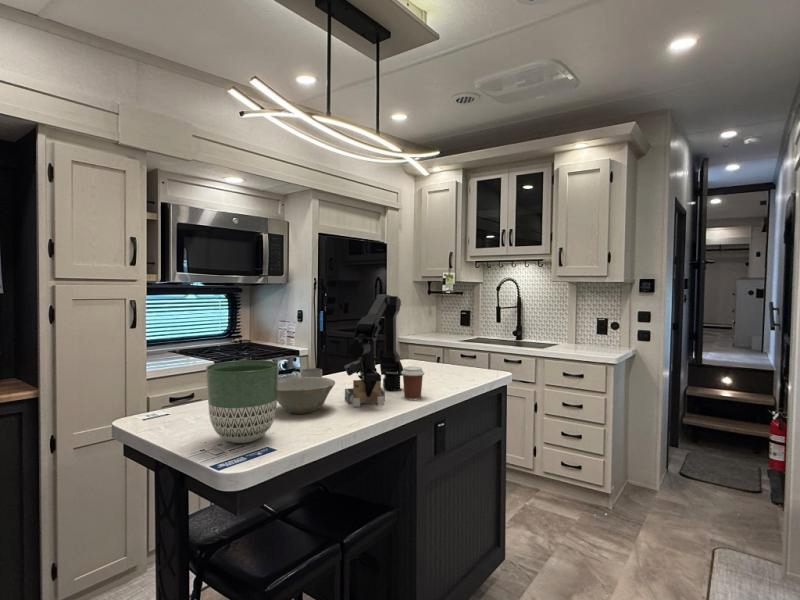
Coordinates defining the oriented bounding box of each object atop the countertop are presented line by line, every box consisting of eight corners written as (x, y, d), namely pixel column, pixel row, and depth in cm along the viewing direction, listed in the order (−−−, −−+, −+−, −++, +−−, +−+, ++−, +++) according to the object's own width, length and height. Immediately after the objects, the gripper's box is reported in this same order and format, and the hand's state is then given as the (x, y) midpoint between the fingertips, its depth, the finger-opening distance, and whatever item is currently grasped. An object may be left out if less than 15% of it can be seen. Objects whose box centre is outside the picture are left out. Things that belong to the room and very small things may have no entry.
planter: (191, 443, 130) (190, 367, 130) (247, 426, 147) (247, 358, 146) (238, 457, 120) (238, 374, 119) (293, 436, 137) (293, 363, 136)
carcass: (380, 396, 186) (380, 386, 186) (387, 404, 174) (387, 394, 174) (344, 398, 182) (344, 388, 182) (349, 407, 170) (350, 396, 170)
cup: (319, 397, 184) (319, 372, 184) (298, 397, 185) (298, 372, 184) (323, 392, 193) (323, 368, 193) (303, 392, 193) (303, 368, 193)
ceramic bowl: (255, 416, 158) (255, 386, 158) (293, 400, 180) (293, 374, 180) (312, 423, 151) (312, 392, 150) (345, 405, 172) (345, 378, 172)
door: (379, 400, 177) (379, 378, 176) (381, 401, 174) (381, 380, 174) (353, 401, 174) (353, 380, 174) (354, 403, 172) (354, 381, 171)
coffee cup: (398, 396, 187) (398, 366, 187) (419, 394, 190) (419, 365, 190) (405, 401, 178) (405, 370, 178) (427, 400, 181) (427, 369, 181)
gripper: (342, 351, 181) (342, 391, 181) (350, 358, 163) (350, 403, 163) (370, 350, 184) (370, 390, 184) (381, 357, 166) (381, 401, 166)
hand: (367, 395), depth 174 cm, fingers closed on door, 2 cm apart
